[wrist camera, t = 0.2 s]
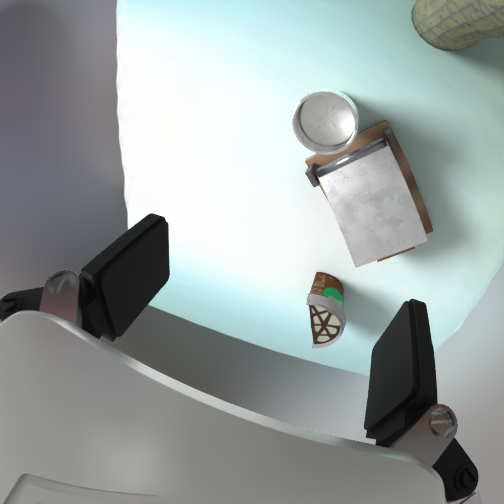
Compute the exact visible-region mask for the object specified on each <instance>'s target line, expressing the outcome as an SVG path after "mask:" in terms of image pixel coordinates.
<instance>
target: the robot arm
mask: <svg viewBox="0 0 504 504" xmlns="http://www.w3.org/2000/svg"><path fill="white" fill-rule="evenodd" d="M81 272H82V273H81V274H80V275H79V276H78V275H77V273H75V272H74V271H71V270H61V271H57V272H55V273H53V274H52V275H51V276H49V277H48V279H47V280H46V282H45V284H44V287H41V288H35V289H29V290H23V291H18V292H12V293H9V294H7V295H6V296H4V297H3V298H2V299H1V300H0V504H482V501H481V498H480V494H479V491H478V492H475V488H476V486H477V483H478V471H477V468H476V467H475V465H474V464H473V462H472V461H471V459H470V458H469V457H468V455H467V454H466V453H465V451H464V450H463V448H462V447H461V446H460V444H459V443H458V442H457V440H456V439H455V438H454V436H455V434H456V432H457V427H458V424H457V419H456V416H455V414H454V412H453V411H452V410H451V409H450V408H449V407H448V406H446V405H443V404H438V403H437V383H436V370H435V359H434V350H433V345H432V341H431V333H430V326H429V320H428V313H427V308H426V304H425V303H424V302H421V301H418V300H415V299H411V300H409V302H408V301H405V302H404V303H403V305H402V306H401V308H400V309H399V311H398V312H397V314H396V315H395V317H394V318H393V320H392V321H391V323H390V324H389V326H388V327H387V329H386V330H385V332H384V333H383V334H382V336H381V337H380V339H379V340H378V341H377V343H376V344H375V346H374V348H373V350H372V357H371V370H370V381H369V390H368V400H367V407H366V415H365V422H364V429H365V430H367V434H366V438H371V439H376V444H375V445H373V444H368V443H362V442H358V441H354V440H349V439H345V438H340V437H337V436H332V435H328V434H324V433H320V432H316V431H313V430H309V429H305V428H301V427H298V426H295V425H291V424H288V423H285V422H282V421H278V420H275V419H272V418H269V417H266V416H263V415H260V414H258V413H255V412H252V411H249V410H246V409H243V408H241V407H238V406H235V405H233V404H230V403H228V402H225V401H223V400H220V399H218V398H215V397H213V396H210V395H208V394H205V393H203V392H201V391H199V390H196V389H194V388H192V387H190V386H187V385H185V384H183V383H181V382H179V381H176V380H174V379H172V378H170V377H168V376H166V375H164V374H162V373H160V372H158V371H156V370H154V369H152V368H150V367H148V366H146V365H144V364H142V363H140V362H138V361H137V360H135V359H133V358H131V357H129V356H127V355H125V354H124V353H122V352H120V351H118V350H117V349H115V348H113V347H111V346H110V345H108V344H106V343H104V342H103V341H101V340H99V338H100V337H101V336H103V337H105V338H107V339H108V340H110V341H112V342H113V341H114V340H115V338H116V337H120V336H122V335H123V334H124V332H125V331H126V330H127V329H128V327H129V326H130V325H131V324H132V323H133V321H134V320H135V319H136V318H137V316H138V315H139V314H140V313H141V312H142V311H143V309H144V308H145V307H146V306H147V305H148V303H149V302H150V301H151V300H152V299H153V298H154V296H155V295H156V294H157V293H158V292H159V291H160V289H161V288H162V287H163V286H164V285H165V284H166V282H167V281H168V279H169V275H170V271H169V234H168V222H166V220H165V218H164V217H162V216H159V215H156V214H153V213H150V214H149V215H147V216H146V217H145V218H143V219H142V220H141V221H139V222H138V223H137V224H136V225H134V226H133V227H132V228H130V229H129V230H128V231H127V232H126V233H124V234H123V235H122V236H121V237H119V238H118V239H117V240H115V241H114V242H113V243H112V244H111V245H110V246H108V247H107V248H106V249H105V250H104V251H102V252H101V253H100V254H99V255H97V256H96V257H95V258H94V259H93V260H92V261H90V262H89V263H88V264H87V265H86V266H85V267H83V268H82V269H81Z"/></svg>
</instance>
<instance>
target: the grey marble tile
mask: <svg viewBox="0 0 504 504" xmlns="http://www.w3.org/2000/svg"><path fill="white" fill-rule="evenodd" d="M316 174H317V176H318V178H319V180H320V183H321V185H322V187H323V189H324V191H325V194H326V196H327V198H328V200H329V203H330V205H331V207H332V210H333V212H334V214H335V217H336V219H337V222H338V224H339V226H340V229H341V231H342V234H343V236H344V239H345V241H346V244H347V246H348V249H349V251H350V254H351V256H352V259H353V262H354V264H355V267H359V266H361V265H364V264H367V263H370V262H373V261H376V260H378V259H381V258H384V257H387V256H389V255H392V254H395V253H398V252H400V251H403V250H406V249H408V248H411V247H414V246H416V245H419V244H421V243H424V242H427V241H428V239H427V236H426V234H425V231H424V228H423V225H422V222H421V219H420V217H419V214H418V211H417V209H416V206H415V204H414V201H413V199H412V196H411V194H410V191H409V189H408V186H407V184H406V182H405V179H404V177H403V175H402V173H401V170H400V168H399V166H398V164H397V162H396V160H395V157H394V155H393V153H392V151H391V149H390V147H389V145H388V143H387V141H385V139H384V137H382V138H380V139H378V140H376V141H373V142H371V143H369V144H367V145H365V146H363V147H361V148H359V149H356V150H354V151H352V152H350V153H348V154H346V155H344V156H342V157H340V158H338V159H336V160H334V161H331V162H329V163H327V164H325V165H323V166H321V167H319V168H317V169H316Z"/></svg>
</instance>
